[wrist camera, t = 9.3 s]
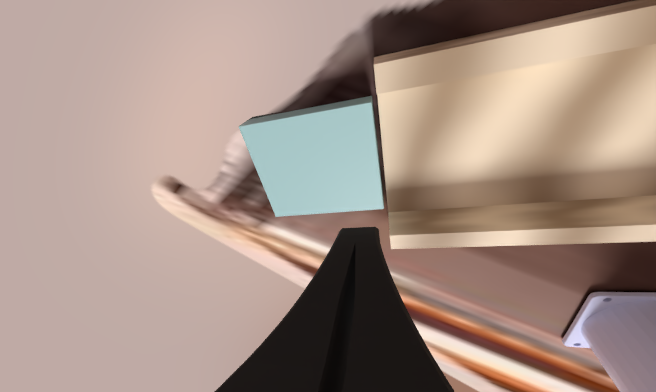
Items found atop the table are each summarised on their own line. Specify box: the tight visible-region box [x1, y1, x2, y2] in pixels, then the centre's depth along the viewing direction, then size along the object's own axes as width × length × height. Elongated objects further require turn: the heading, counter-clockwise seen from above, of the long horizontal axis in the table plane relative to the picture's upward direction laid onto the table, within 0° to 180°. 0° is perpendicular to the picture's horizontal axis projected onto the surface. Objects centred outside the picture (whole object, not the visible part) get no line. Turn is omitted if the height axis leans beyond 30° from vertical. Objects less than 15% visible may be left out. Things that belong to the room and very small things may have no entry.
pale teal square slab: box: [239, 96, 384, 217], centre depth 16 cm, size 8×7×2 cm
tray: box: [374, 0, 656, 249], centre depth 12 cm, size 20×11×3 cm, turn 102°
